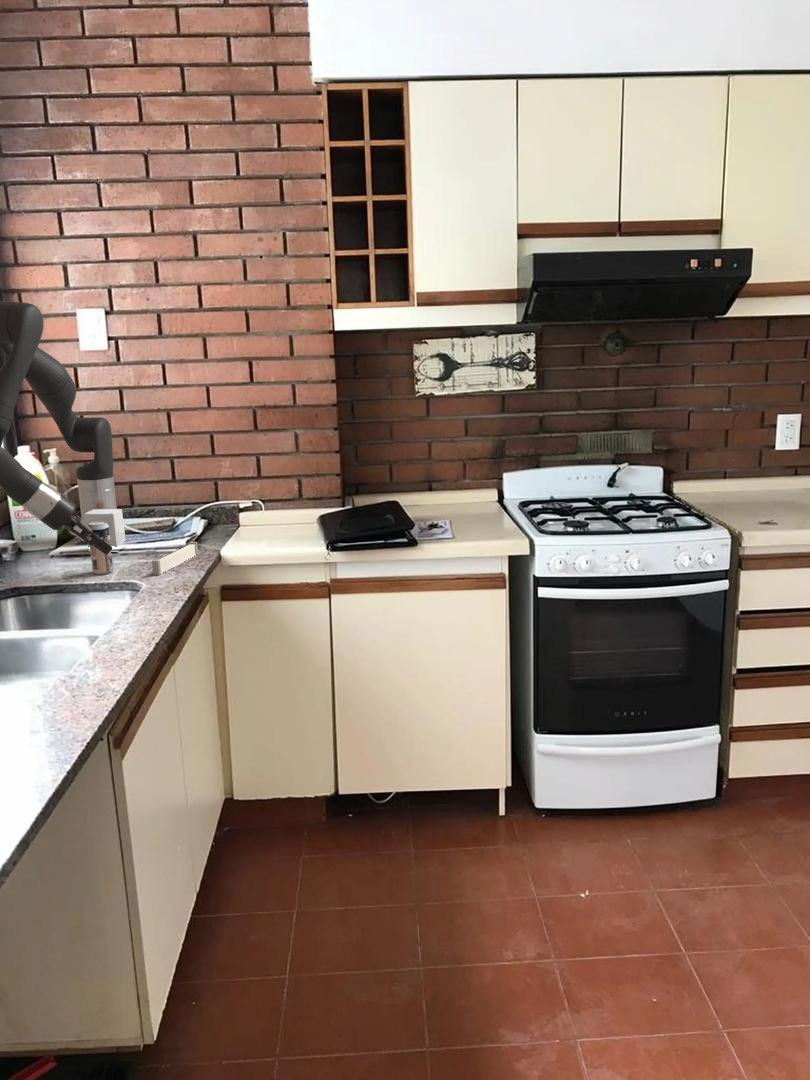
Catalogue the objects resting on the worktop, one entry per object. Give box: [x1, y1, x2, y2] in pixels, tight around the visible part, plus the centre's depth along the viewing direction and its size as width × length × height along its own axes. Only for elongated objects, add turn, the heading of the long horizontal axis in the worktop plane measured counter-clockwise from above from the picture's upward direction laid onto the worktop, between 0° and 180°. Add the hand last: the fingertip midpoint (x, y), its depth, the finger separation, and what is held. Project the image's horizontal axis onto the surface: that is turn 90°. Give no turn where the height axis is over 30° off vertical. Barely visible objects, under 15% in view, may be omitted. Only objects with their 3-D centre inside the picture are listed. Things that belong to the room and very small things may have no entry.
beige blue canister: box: [89, 521, 114, 576], centre depth 199 cm, size 5×5×12 cm
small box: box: [84, 508, 127, 548], centre depth 220 cm, size 8×6×10 cm
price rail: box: [151, 541, 199, 576], centre depth 206 cm, size 18×2×3 cm, turn 165°
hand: (106, 547), depth 200 cm, fingers open, 8 cm apart
